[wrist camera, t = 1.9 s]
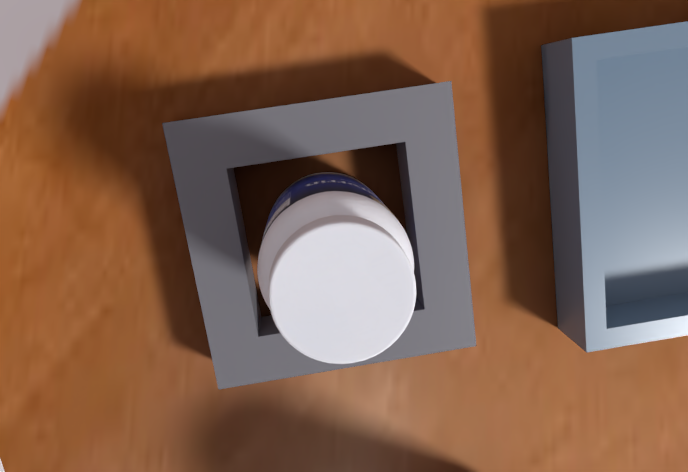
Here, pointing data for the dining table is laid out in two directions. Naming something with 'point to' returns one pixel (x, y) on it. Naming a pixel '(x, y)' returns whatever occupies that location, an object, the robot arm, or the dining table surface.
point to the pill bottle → (336, 269)
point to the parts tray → (619, 184)
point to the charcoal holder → (308, 140)
